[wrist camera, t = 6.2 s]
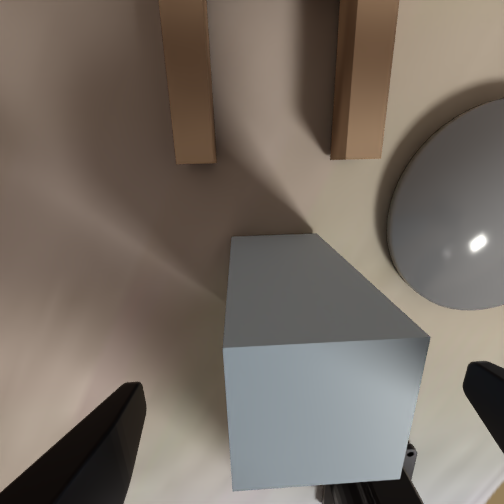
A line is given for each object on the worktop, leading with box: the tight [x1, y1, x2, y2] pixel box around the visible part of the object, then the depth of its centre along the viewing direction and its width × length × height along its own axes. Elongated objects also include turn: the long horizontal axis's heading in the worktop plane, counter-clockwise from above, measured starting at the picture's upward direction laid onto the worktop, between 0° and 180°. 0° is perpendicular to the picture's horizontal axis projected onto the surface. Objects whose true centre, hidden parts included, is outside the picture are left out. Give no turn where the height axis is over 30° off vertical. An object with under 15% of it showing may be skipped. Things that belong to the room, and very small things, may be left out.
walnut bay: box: [158, 0, 399, 164], centre depth 11 cm, size 8×8×2 cm
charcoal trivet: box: [387, 98, 504, 310], centre depth 14 cm, size 11×11×1 cm
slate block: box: [223, 234, 430, 491], centre depth 11 cm, size 4×4×9 cm
